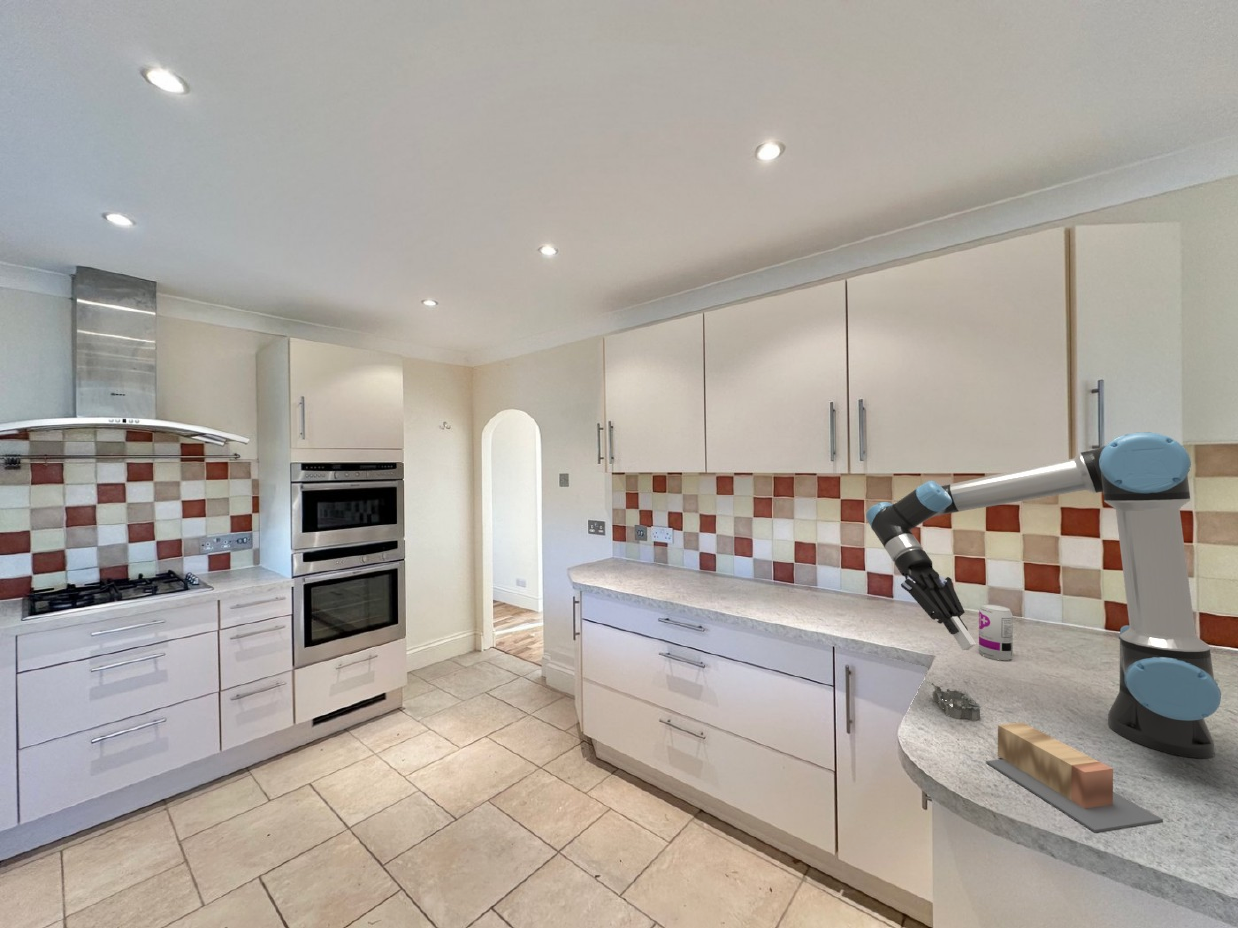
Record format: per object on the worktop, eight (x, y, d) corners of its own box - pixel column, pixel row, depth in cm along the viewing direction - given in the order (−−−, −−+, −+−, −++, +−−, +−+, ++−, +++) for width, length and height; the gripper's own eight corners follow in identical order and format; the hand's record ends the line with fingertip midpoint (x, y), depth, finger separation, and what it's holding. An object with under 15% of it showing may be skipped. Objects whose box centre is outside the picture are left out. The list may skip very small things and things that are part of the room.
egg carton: (929, 697, 120) (929, 681, 120) (963, 702, 118) (963, 685, 118) (947, 718, 110) (947, 700, 110) (984, 723, 108) (985, 705, 108)
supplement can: (984, 659, 145) (984, 609, 145) (974, 649, 153) (975, 602, 153) (1017, 663, 142) (1017, 612, 143) (1005, 653, 150) (1006, 605, 150)
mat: (986, 762, 93) (986, 760, 93) (1044, 755, 95) (1044, 753, 95) (1094, 832, 75) (1094, 829, 75) (1162, 821, 78) (1162, 818, 78)
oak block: (997, 724, 95) (1084, 772, 80) (1022, 722, 96) (1113, 768, 81) (997, 755, 95) (1084, 808, 80) (1022, 752, 96) (1112, 804, 81)
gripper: (922, 564, 125) (982, 652, 108) (878, 565, 122) (933, 656, 105) (939, 547, 120) (1006, 637, 103) (894, 548, 117) (955, 641, 100)
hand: (969, 647), depth 104 cm, fingers closed
